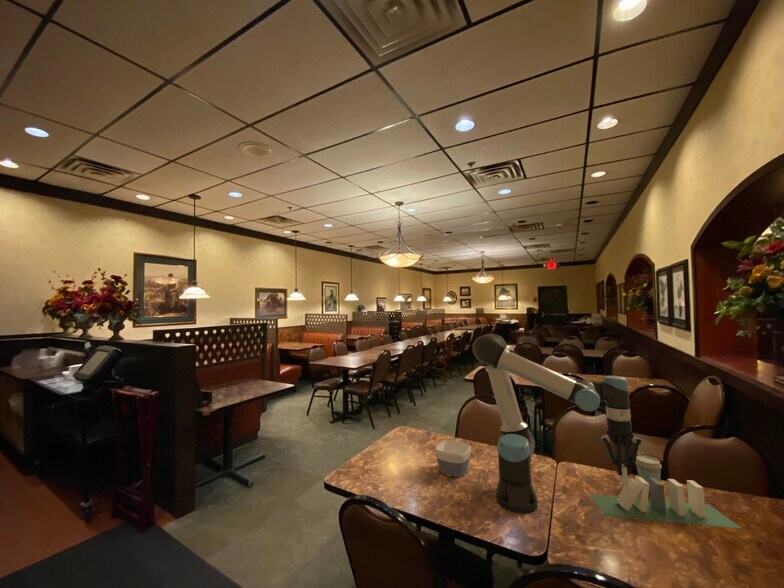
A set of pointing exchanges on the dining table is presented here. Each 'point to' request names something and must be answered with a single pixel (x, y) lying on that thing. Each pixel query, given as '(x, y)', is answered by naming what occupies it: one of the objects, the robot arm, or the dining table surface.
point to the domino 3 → (676, 497)
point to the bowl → (453, 457)
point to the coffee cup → (648, 468)
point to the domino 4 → (696, 498)
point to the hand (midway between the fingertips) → (624, 484)
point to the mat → (615, 510)
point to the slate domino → (657, 495)
